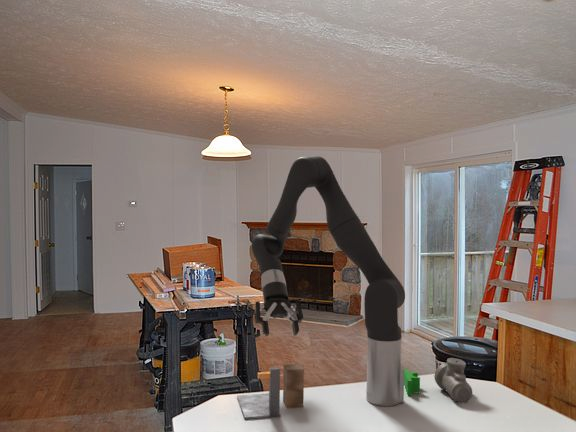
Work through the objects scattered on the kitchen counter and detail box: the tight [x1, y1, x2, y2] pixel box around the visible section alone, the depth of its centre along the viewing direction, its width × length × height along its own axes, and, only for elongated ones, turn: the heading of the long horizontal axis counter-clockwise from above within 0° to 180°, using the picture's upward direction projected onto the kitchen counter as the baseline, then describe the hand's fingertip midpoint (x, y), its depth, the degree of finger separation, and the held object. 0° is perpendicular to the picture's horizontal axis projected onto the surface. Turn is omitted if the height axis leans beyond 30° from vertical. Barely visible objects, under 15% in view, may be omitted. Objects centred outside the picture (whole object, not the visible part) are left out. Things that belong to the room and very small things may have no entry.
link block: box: [282, 363, 305, 409], centre depth 133 cm, size 4×4×10 cm
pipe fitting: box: [433, 357, 473, 403], centre depth 140 cm, size 12×8×10 cm
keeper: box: [236, 366, 281, 421], centre depth 131 cm, size 9×15×12 cm, turn 13°
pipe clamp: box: [404, 368, 421, 397], centre depth 145 cm, size 11×4×5 cm, turn 173°
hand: (281, 334), depth 144 cm, fingers open, 8 cm apart
